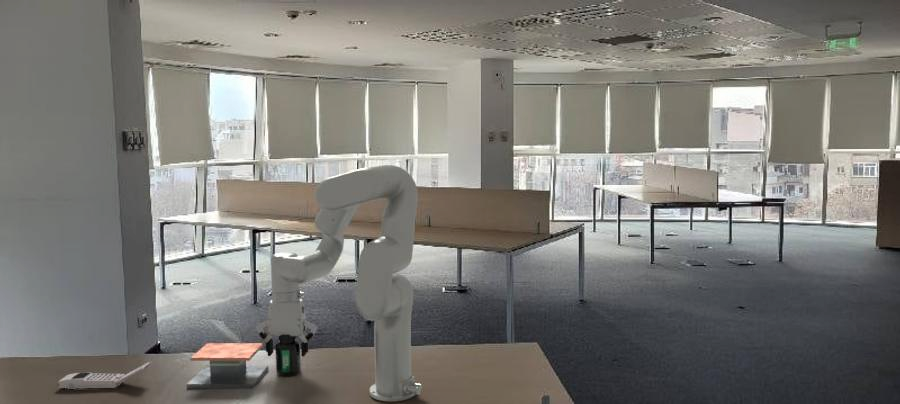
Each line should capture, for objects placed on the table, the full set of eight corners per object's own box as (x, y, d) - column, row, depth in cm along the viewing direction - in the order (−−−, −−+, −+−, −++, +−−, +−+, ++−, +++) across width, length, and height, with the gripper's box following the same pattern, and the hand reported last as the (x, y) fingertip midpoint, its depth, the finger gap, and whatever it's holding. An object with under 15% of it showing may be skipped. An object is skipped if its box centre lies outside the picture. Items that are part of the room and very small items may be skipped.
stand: (268, 369, 195) (267, 342, 194) (253, 388, 181) (251, 359, 180) (206, 369, 195) (205, 342, 194) (186, 388, 181) (185, 359, 181)
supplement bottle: (289, 379, 188) (288, 337, 186) (271, 374, 191) (269, 333, 189) (306, 371, 193) (304, 330, 192) (288, 367, 197) (286, 327, 195)
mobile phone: (143, 368, 181) (48, 369, 180) (144, 389, 182) (49, 391, 181) (152, 360, 187) (60, 362, 186) (153, 381, 188) (61, 382, 186)
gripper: (319, 293, 193) (320, 350, 195) (259, 292, 193) (261, 349, 196) (313, 300, 186) (314, 359, 188) (251, 299, 186) (253, 359, 188)
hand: (287, 354), depth 192 cm, fingers open, 9 cm apart
